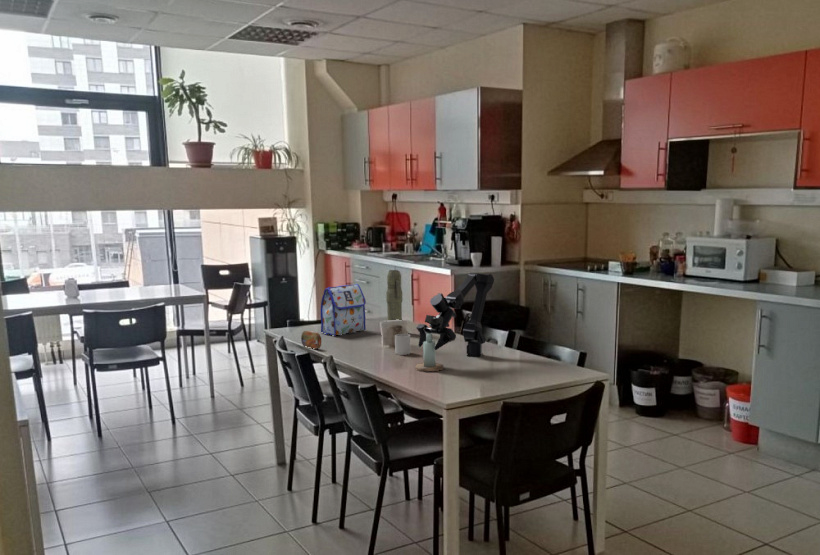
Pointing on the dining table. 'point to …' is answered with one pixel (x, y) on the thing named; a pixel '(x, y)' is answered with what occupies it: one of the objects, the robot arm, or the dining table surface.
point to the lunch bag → (343, 310)
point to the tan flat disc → (422, 368)
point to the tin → (311, 339)
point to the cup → (402, 344)
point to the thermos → (394, 295)
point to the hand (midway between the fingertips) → (427, 347)
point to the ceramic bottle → (429, 351)
